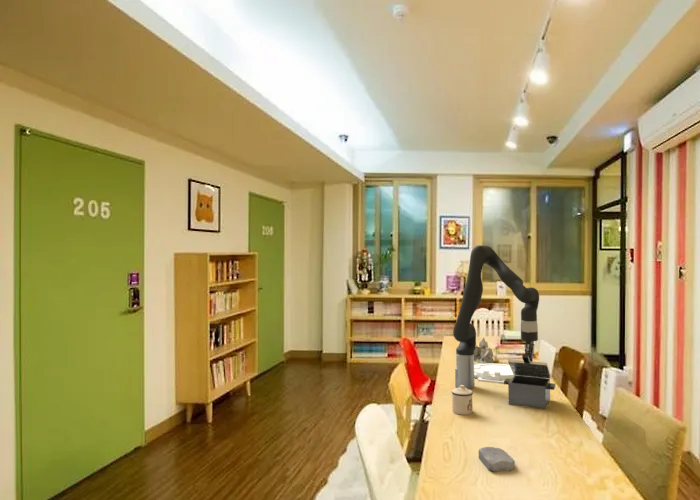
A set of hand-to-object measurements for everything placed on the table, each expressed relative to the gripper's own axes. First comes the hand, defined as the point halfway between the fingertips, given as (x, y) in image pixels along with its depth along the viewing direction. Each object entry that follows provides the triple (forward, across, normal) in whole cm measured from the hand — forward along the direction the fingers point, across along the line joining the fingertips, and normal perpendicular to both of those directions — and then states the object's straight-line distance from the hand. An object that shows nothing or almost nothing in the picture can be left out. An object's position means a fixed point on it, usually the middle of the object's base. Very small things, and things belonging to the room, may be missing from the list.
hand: (530, 366), depth 232 cm
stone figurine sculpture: (+17, -78, -42) cm, 90 cm away
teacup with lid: (+16, +29, -24) cm, 41 cm away
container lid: (+17, -44, -25) cm, 54 cm away
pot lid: (0, +3, 0) cm, 3 cm away
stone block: (+16, +78, +1) cm, 80 cm away
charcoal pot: (+16, +2, 0) cm, 16 cm away
